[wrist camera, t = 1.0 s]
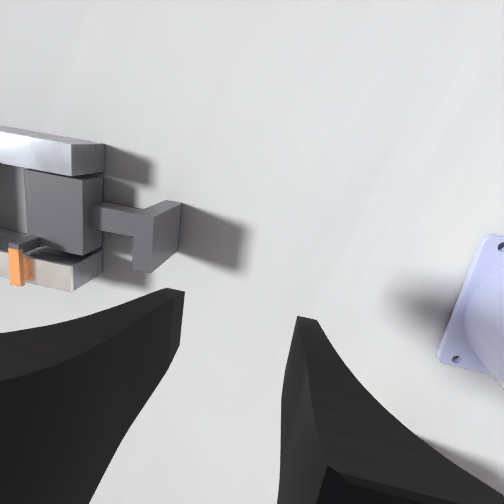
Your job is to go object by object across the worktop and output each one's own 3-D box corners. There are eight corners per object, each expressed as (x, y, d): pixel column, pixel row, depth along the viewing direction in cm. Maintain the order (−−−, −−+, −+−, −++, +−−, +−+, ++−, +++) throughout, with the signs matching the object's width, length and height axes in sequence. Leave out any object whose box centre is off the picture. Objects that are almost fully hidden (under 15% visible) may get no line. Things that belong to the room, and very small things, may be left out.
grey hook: (183, 191, 20) (154, 202, 17) (174, 288, 22) (147, 317, 19) (49, 166, 21) (-6, 172, 17) (52, 262, 23) (4, 285, 19)
